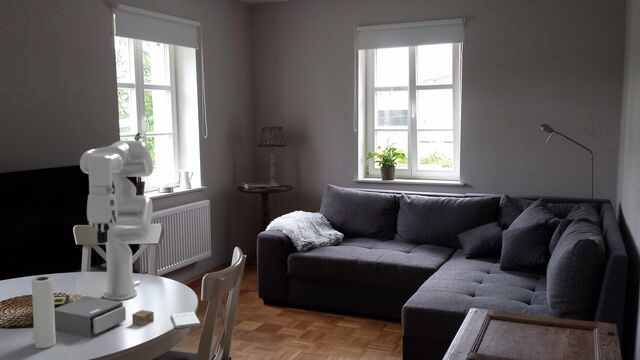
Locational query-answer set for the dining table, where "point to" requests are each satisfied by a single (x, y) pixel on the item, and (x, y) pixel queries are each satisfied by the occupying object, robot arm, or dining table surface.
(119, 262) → the robot arm
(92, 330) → the tray
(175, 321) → the external hard drive
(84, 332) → the grey drawer box
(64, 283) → the dining table surface
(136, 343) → the dining table surface
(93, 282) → the dining table surface
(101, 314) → the disc
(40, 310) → the paper towel roll
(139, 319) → the pedestal
